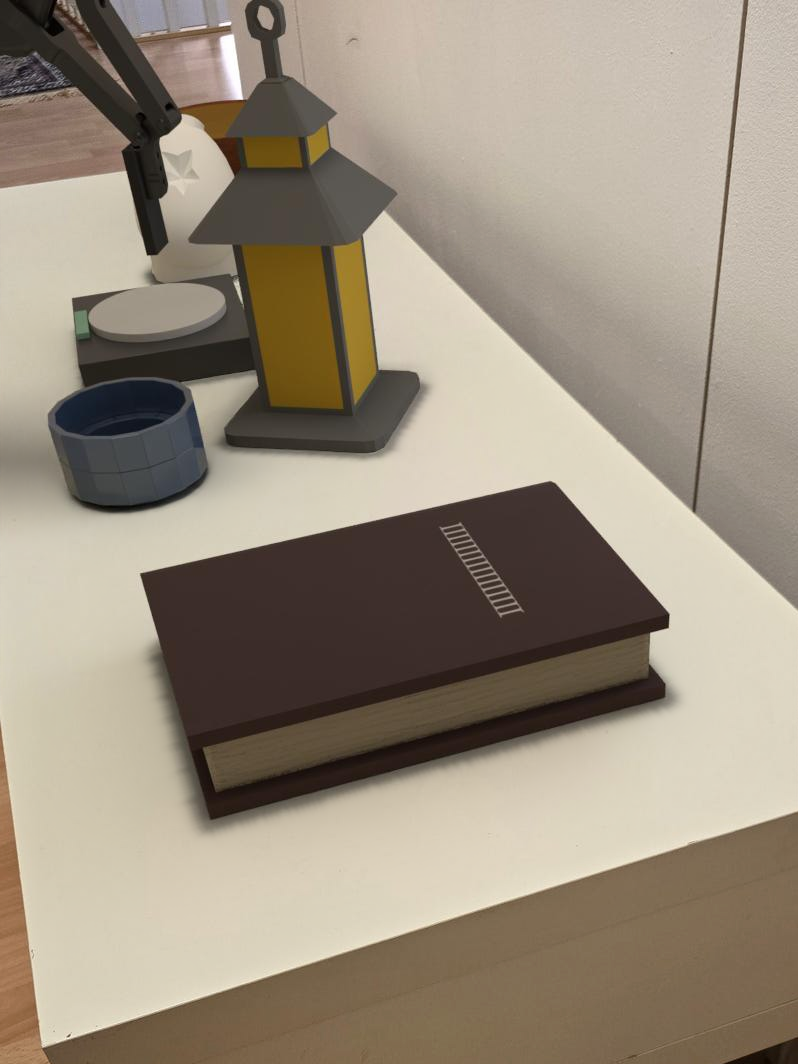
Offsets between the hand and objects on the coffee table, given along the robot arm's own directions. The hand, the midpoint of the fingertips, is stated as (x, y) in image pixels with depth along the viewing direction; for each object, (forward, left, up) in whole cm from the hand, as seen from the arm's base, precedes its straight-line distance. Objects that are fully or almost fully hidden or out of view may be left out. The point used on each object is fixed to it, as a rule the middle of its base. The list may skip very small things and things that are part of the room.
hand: (66, 252), depth 86 cm
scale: (-5, +28, -18) cm, 33 cm away
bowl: (-9, +70, -18) cm, 73 cm away
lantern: (+14, +13, -18) cm, 26 cm away
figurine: (-7, +48, -18) cm, 52 cm away
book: (+26, -25, -18) cm, 40 cm away
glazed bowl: (+1, +1, -18) cm, 18 cm away
